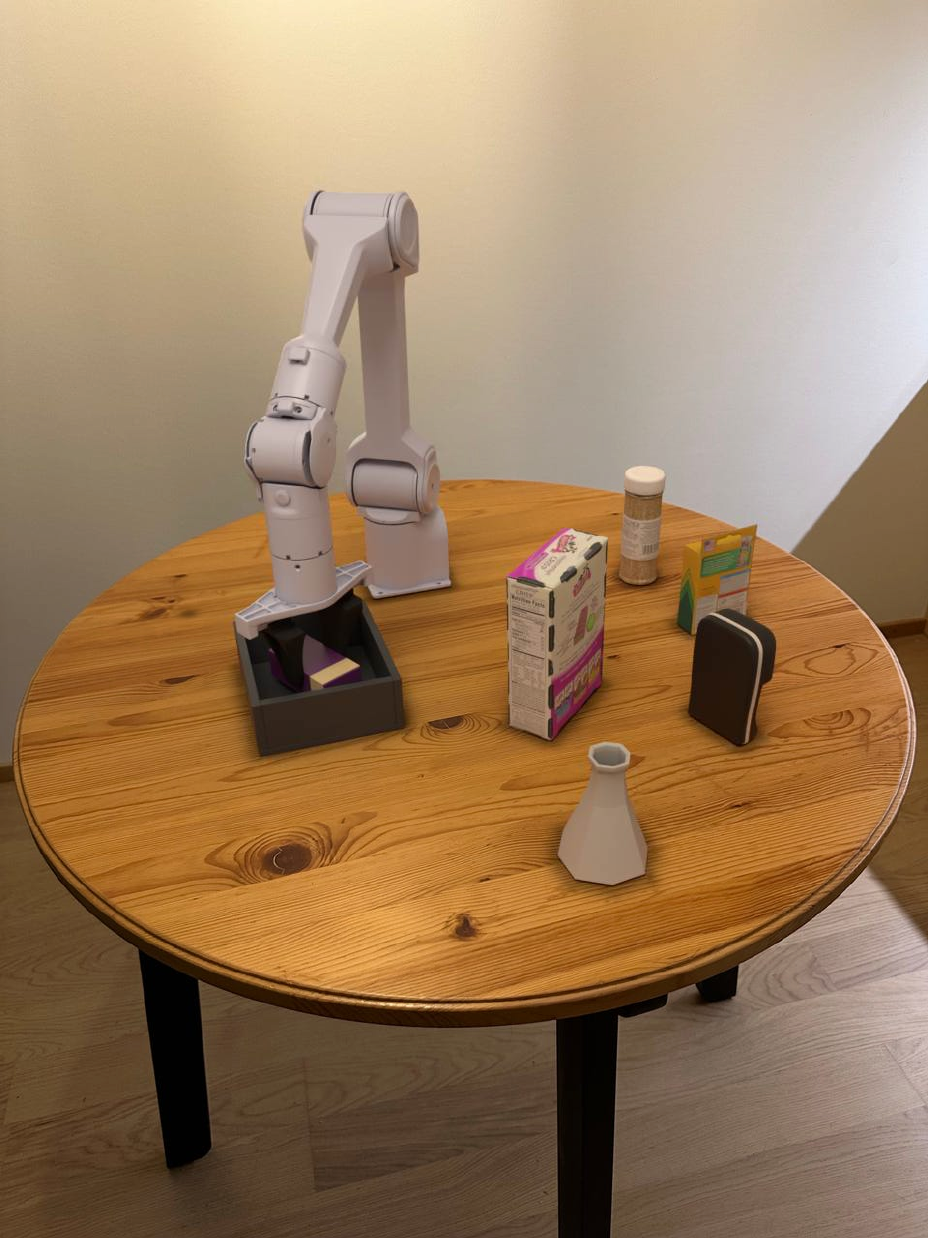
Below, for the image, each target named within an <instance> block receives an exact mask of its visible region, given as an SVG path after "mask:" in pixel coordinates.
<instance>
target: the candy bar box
mask: <svg viewBox="0 0 928 1238" xmlns="http://www.w3.org/2000/svg"><path fill="white" fill-rule="evenodd" d="M608 547H609V537H608V536H605V535H600V534H595V533H590V532H587V531H583V530H578V529H576V528H571V527H563V528H561V529H560V530H558V532H556V533H555V534H554V535H553V536H552V537H550V538H549V539H548V540H547V541H546V542H545V543H544V544H542V545H541V546H540V547H539V548H538V549H536V550H535V551H534V552H533V553H532V554H531V555H529V556H528V557H527V558H525V559H524V560H523V561H522V562H521V563H519V564H518V565H517V566H516V567H515V568H513V570H511V571H510V572H509V573H508V574H507V575H506V576H505V578H506V579H505V580H506V581H505V582H506V583H505V585H506V586H505V587H506V589H505V590H506V643H507V703H508V705H507V706H508V707H507V708H508V709H507V711H508V714H507V715H508V716H507V717H508V727H510V728H512V729H515V730H518V731H520V732H523V733H526V734H530V735H533V736H536V737H538V738H541V739H544V740H547V741H550V742H551V741H553V740H554V739H555V738H556V737H557V735H558V734H559V733H560V732H561V731H562V730H563V729H564V727H565V726H566V725H567V724H568V722H570V720H571V719H572V718H573V717H574V716H575V714H576V713H577V712H578V711H579V710H580V709H581V707H582V706H583V705H584V704H585V703H586V702H587V701H588V700H589V699H590V697H591V696H592V695H593V694H594V693H595V692H596V690H597V689H599V687H600V686H601V685H602V684H603V665H604V643H605V642H604V641H605V639H604V638H605V622H606V621H605V620H606V619H605V617H606V601H607V600H606V596H607V572H608V552H609V551H608Z"/></svg>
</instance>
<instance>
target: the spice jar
mask: <svg viewBox="0 0 928 1238" xmlns="http://www.w3.org/2000/svg"><path fill="white" fill-rule="evenodd" d="M666 479H667V478H666V473H665V471H663V470H662V469H661V468H658V467H655V466H649V465H639V466H633V467H630V468H629V469H626V470H625V472H624V480H623V488H624V490H623V491H624V503H623V512H622V524H621V525H622V526H621V539H620V540H621V541H620V542H621V543H620V565H619V571H618V577H619V579H621V580H622V581H623V582H624V583H627V584H628V585H634V586H645V585H649V584H652V583H653V582H655V581H656V579H657V577H658V572H657V566H658V565H657V564H658V556H659V552H660V541H661V530H662V529H661V528H662V518H663V515H662V508H663V494H664V492H665V489H666Z"/></svg>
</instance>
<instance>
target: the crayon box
mask: <svg viewBox="0 0 928 1238" xmlns="http://www.w3.org/2000/svg"><path fill="white" fill-rule="evenodd" d="M757 531H758V524H757V523H755V524H753V525H748V526H744V527H740V528H737V529H733V530H729V531H725V532H721V533H717V534H713V535H710V536H706V537H702V538H701V540H698V541H694V542H690V543H686V544H684V545H683V554H682V565H681V577H680V578H681V579H680V589H679V599H678V600H679V601H678V609H677V610H678V611H677V620H676V624H677V626H679V627H680V628H681V629H683V631H685V632H687V633H688V635H691V636H692V637H693V636H696V631H697V626H698V623H699V621H700V620H701V619H702V618H703V617H704V616H705V615H707V614H709V613H714V612H717V611H719V610H721V609H726V608H729V609H732V610H735V611H737V612H739V613H742V614H744V615H746V616H747V607H748V600H749V599H748V598H749V591H750V582H751V574H752V568H753V559H754V552H755V551H754V550H755V542H756V538H757Z"/></svg>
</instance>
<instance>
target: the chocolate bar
mask: <svg viewBox="0 0 928 1238" xmlns="http://www.w3.org/2000/svg"><path fill="white" fill-rule="evenodd" d="M268 654H269V661H270V668H271V675H272V676H274V677H275V678H277V679H278V680H280V681H281V682H283V683H284V684H286V685H288V686H289V687H291V688H292V689H294V690H295V691H297V692H298V693H303V692H308V691H314V690H319V689H324V688H330V687H335V686H340V685H345V684H351V683H356V682H361V681H362V676H361V667H360V665H358V664H356V663H355V662H353V661H351V660H350V659H348V658H345V657H344V656H342V655H340V654H338V653H337V652H335V651H333V650H332V649H330V648H328V647H327V646H325V645H323V644H321V643H320V642H318V641H316V640H315V639H313V638H311V637H310V636H308V635H306V636H305V640H304V645H303V668H304V684H303V686H301V687H296V686H294V685H293V684H291V683H290V682H288V681H287V680H286V678H285V676H284V673H283V670H282V668H281V666H280V663H279V661H278V659H277V657H276V656H275V654H274V652H273V650H272V649H269V650H268Z"/></svg>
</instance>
